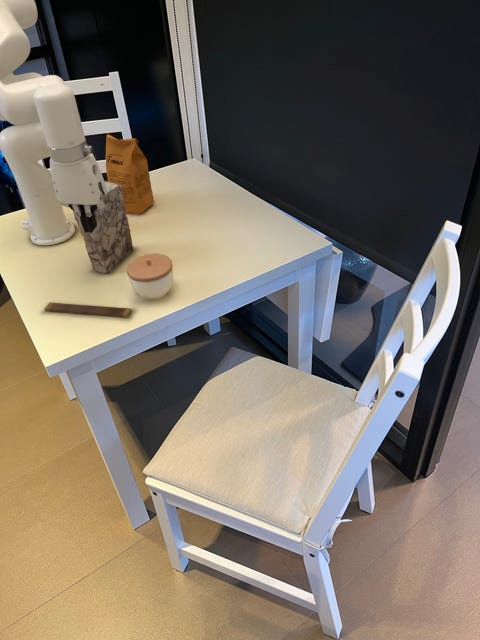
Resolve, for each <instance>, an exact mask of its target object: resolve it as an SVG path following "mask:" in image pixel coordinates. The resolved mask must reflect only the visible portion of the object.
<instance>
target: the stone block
mask: <svg viewBox="0 0 480 640" xmlns="http://www.w3.org/2000/svg"><path fill="white" fill-rule="evenodd" d="M104 182H105V186H106V190H107V195H106V196H104V197H105V199H106V201H107V206H106V207H105V208H101V209H96V211H95V212H94V214H95V217H96V221H97V227H96V228H95V229H94V231H93V232H92V233H89V232H87V233H86V232H84V229H83V227H82V224H81V221H80V217H78V216H77V215H76V213H75V212H74V211H73V210H72V212H73V217H74V220H75V221H76V223H77V226H78V229H79V231H80V234H81V236H82V239H83V241H84V245H85V246H84V247H85V250H86V252H87V256H88V258H89V260H90V264H91V267H92V270H93V271H96V272H98V273H103V274H110V273H111V272H113V271H114V270H115V269H116V268H118V266H119V265H120V264H122V262H123V261H124V260H125V259H126V258H128V256H130V254H131V253H132V252H133V251H134V249H133V248H134V246H133V239H132V235H131V229H130V224H129V218H128V216H127V213H126V209H125V202H124V199H123V193H122V187H121V186H119V185H116V184H113V183H109V182H108V181H106V180H104Z"/></svg>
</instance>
